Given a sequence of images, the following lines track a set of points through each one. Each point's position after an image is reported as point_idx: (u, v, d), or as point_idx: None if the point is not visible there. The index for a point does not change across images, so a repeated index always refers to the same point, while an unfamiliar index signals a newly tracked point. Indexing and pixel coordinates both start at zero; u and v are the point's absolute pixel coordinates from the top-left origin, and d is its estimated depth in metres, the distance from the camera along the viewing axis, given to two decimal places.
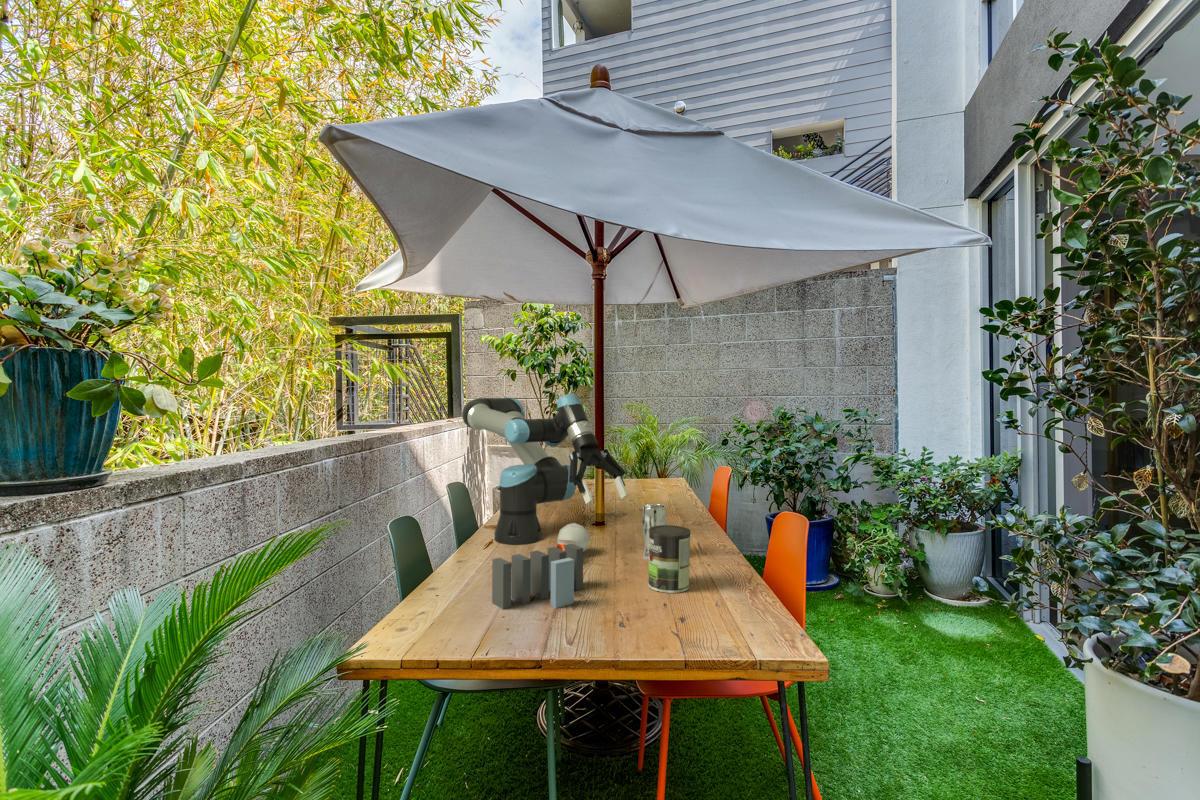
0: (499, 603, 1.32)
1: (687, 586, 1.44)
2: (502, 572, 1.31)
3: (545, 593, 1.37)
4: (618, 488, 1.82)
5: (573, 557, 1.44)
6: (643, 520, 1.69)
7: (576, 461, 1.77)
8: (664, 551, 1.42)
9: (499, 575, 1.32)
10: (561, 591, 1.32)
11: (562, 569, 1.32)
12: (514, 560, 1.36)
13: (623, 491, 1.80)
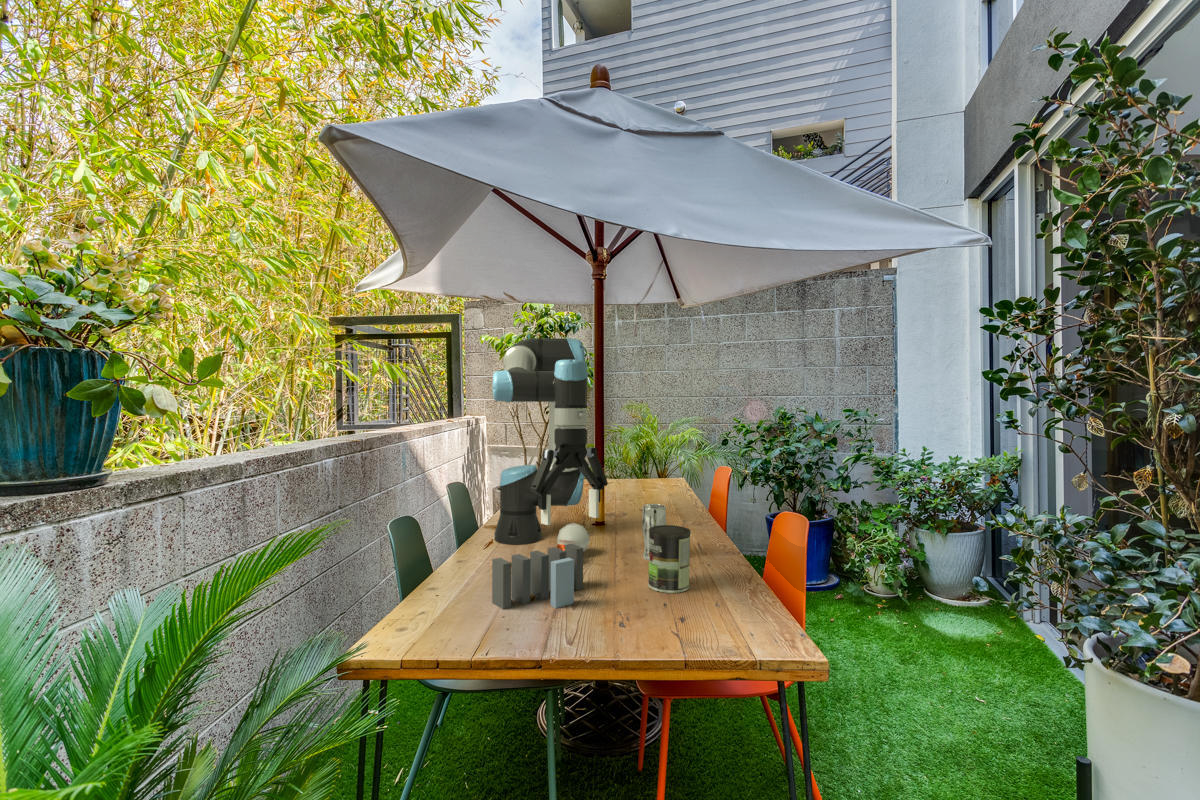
0: (499, 603, 1.32)
1: (687, 586, 1.44)
2: (502, 572, 1.31)
3: (545, 593, 1.37)
4: (590, 501, 1.40)
5: (573, 557, 1.44)
6: (643, 520, 1.69)
7: (549, 466, 1.30)
8: (664, 551, 1.42)
9: (499, 575, 1.32)
10: (561, 591, 1.32)
11: (562, 569, 1.32)
12: (514, 560, 1.36)
13: (594, 511, 1.39)
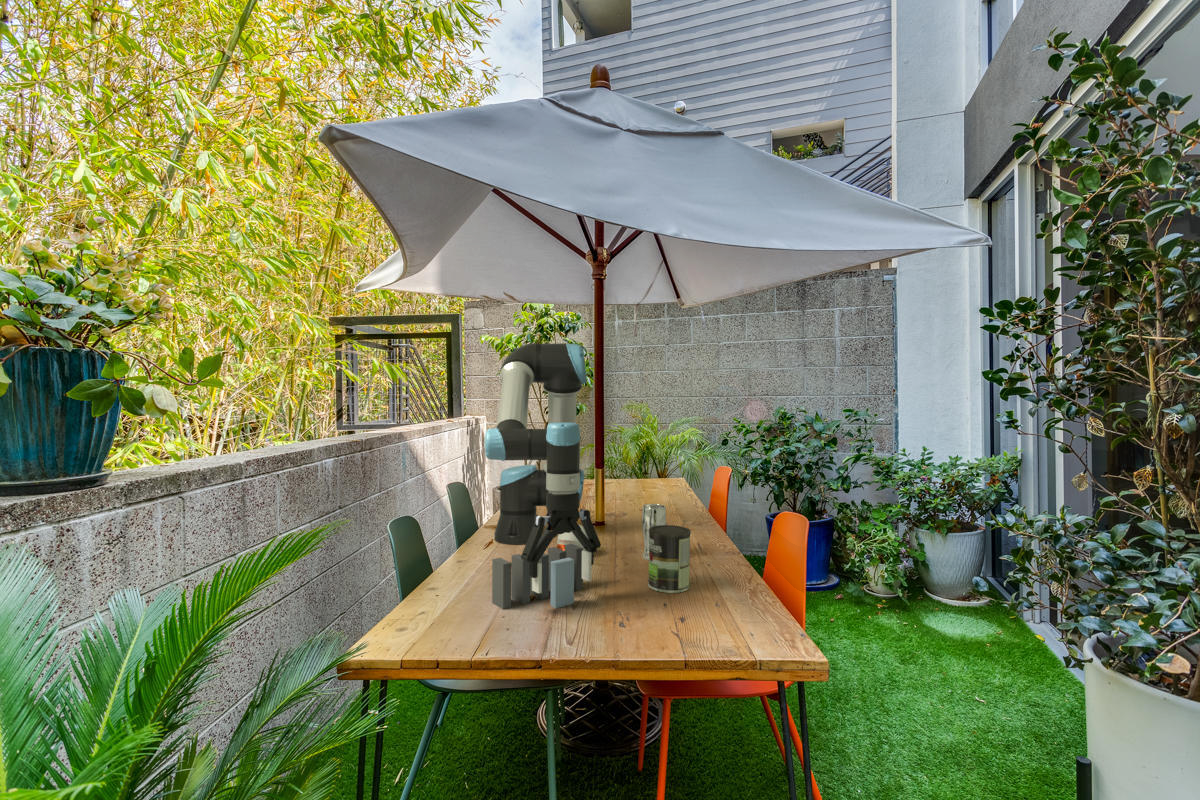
0: (499, 603, 1.32)
1: (687, 586, 1.44)
2: (502, 572, 1.31)
3: (545, 593, 1.37)
4: (583, 564, 1.38)
5: (573, 557, 1.44)
6: (643, 520, 1.69)
7: (540, 533, 1.28)
8: (664, 551, 1.42)
9: (499, 575, 1.32)
10: (561, 591, 1.32)
11: (562, 569, 1.32)
12: (514, 560, 1.36)
13: (587, 574, 1.37)
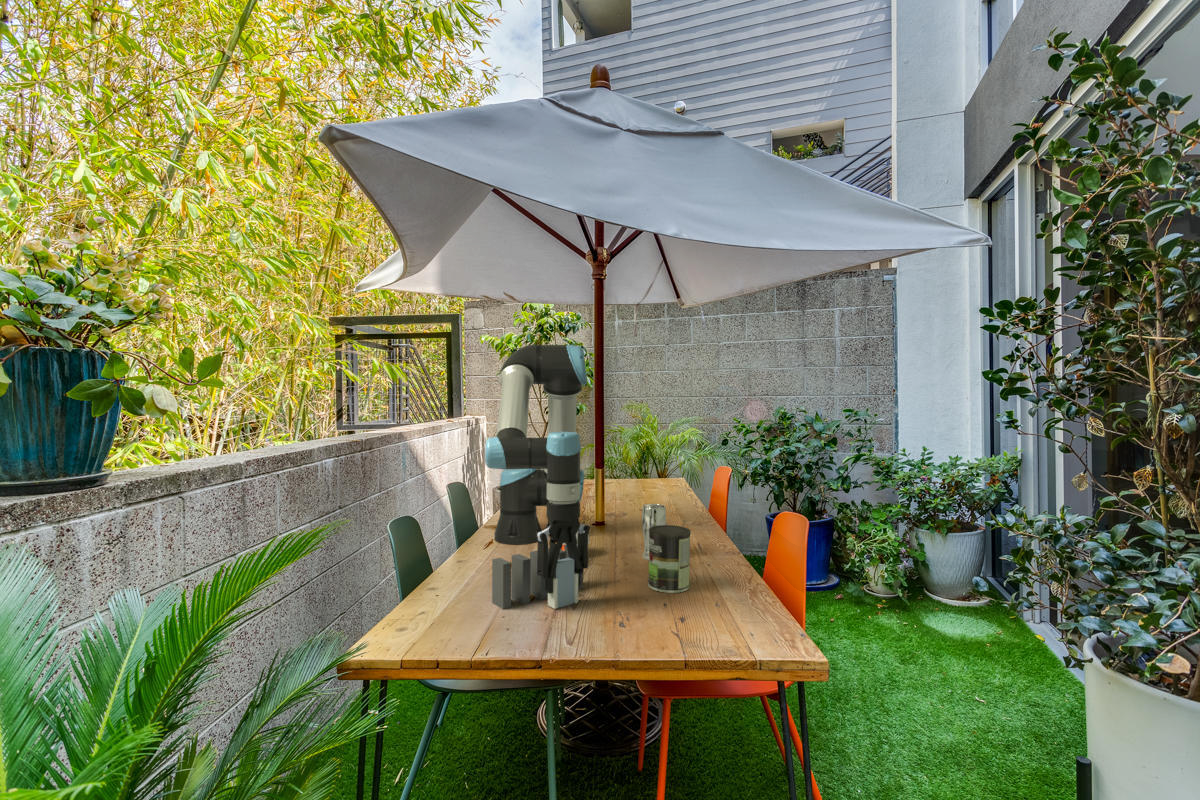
0: (499, 603, 1.32)
1: (687, 586, 1.44)
2: (502, 572, 1.31)
3: (545, 593, 1.37)
4: None
5: None
6: (643, 520, 1.69)
7: (546, 549, 1.29)
8: (664, 551, 1.42)
9: (499, 575, 1.32)
10: (561, 591, 1.32)
11: (562, 570, 1.32)
12: (514, 560, 1.36)
13: (574, 595, 1.34)
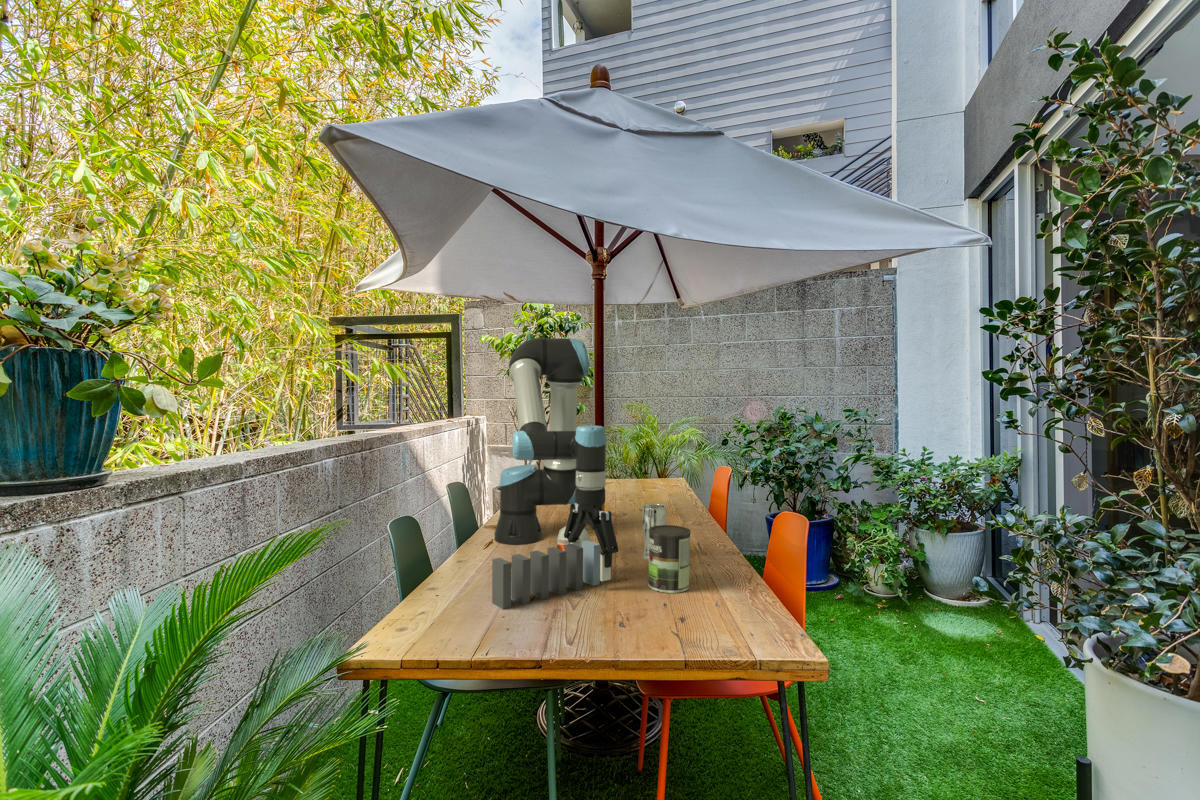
0: (499, 603, 1.32)
1: (687, 586, 1.44)
2: (502, 572, 1.31)
3: (545, 593, 1.37)
4: None
5: (572, 557, 1.44)
6: (643, 520, 1.69)
7: (570, 517, 1.53)
8: (664, 551, 1.42)
9: (499, 575, 1.32)
10: (585, 568, 1.49)
11: (585, 549, 1.49)
12: (514, 560, 1.36)
13: None
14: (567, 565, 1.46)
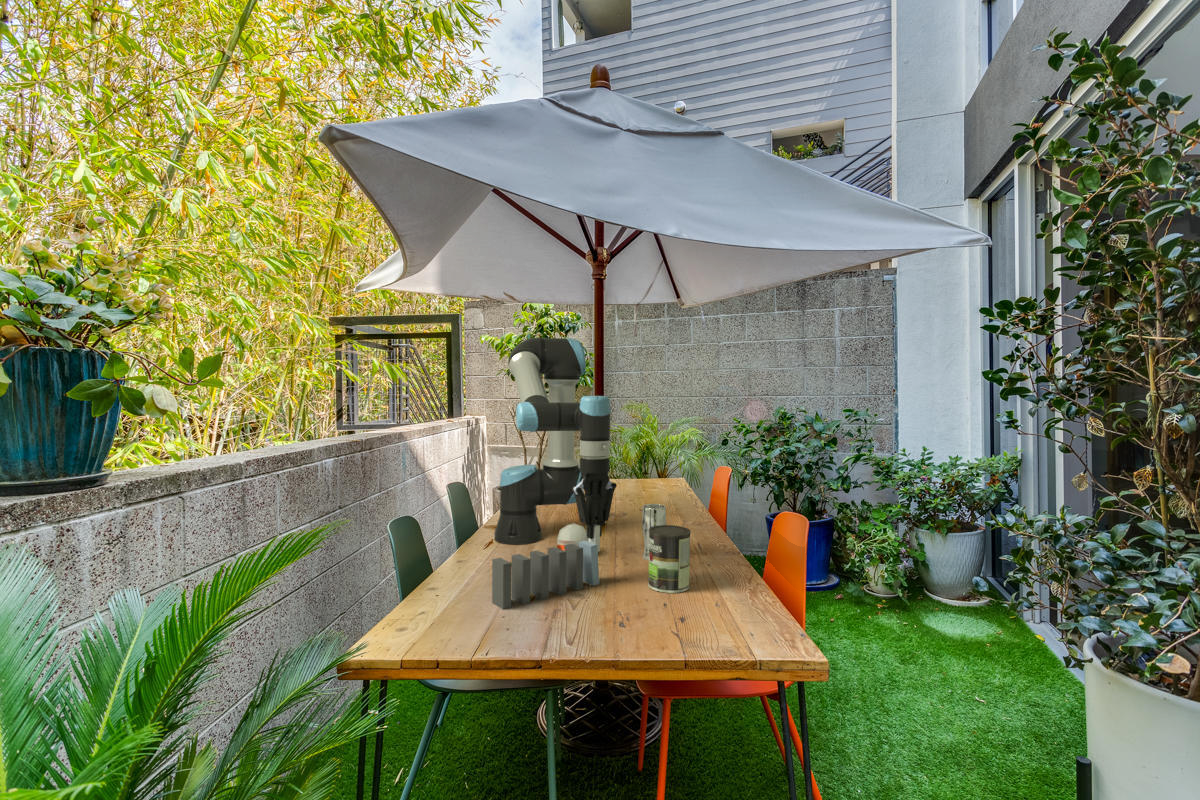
0: (499, 603, 1.32)
1: (687, 586, 1.44)
2: (502, 572, 1.31)
3: (545, 593, 1.37)
4: None
5: (572, 557, 1.44)
6: (643, 520, 1.69)
7: (584, 500, 1.45)
8: (664, 551, 1.42)
9: (499, 575, 1.32)
10: (584, 569, 1.49)
11: (583, 550, 1.48)
12: (514, 560, 1.36)
13: None
14: (567, 565, 1.46)
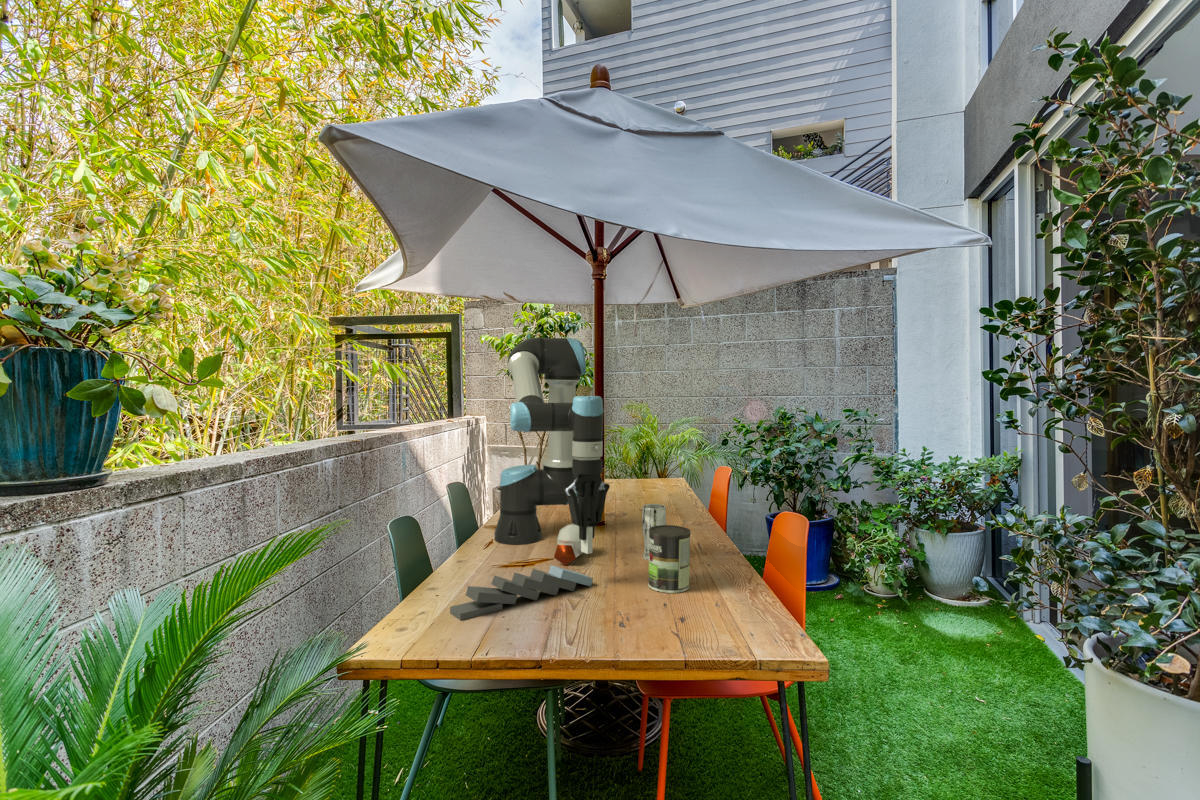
0: None
1: (687, 586, 1.44)
2: None
3: (534, 594, 1.36)
4: None
5: None
6: (643, 520, 1.69)
7: (576, 501, 1.44)
8: (664, 551, 1.42)
9: None
10: None
11: None
12: None
13: None
14: None
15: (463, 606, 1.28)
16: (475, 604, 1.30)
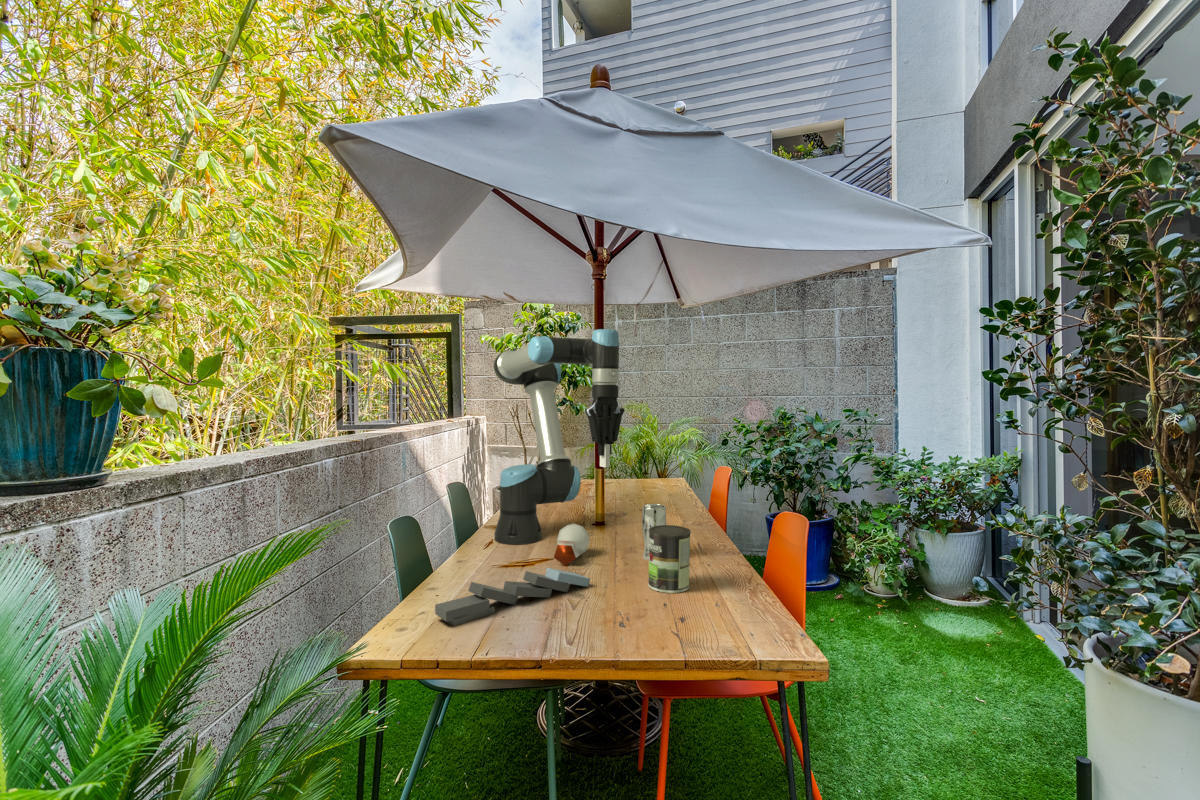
0: None
1: (687, 586, 1.44)
2: None
3: (513, 598, 1.33)
4: None
5: None
6: (643, 520, 1.69)
7: (596, 420, 1.65)
8: (664, 551, 1.42)
9: None
10: None
11: None
12: None
13: None
14: None
15: None
16: None
